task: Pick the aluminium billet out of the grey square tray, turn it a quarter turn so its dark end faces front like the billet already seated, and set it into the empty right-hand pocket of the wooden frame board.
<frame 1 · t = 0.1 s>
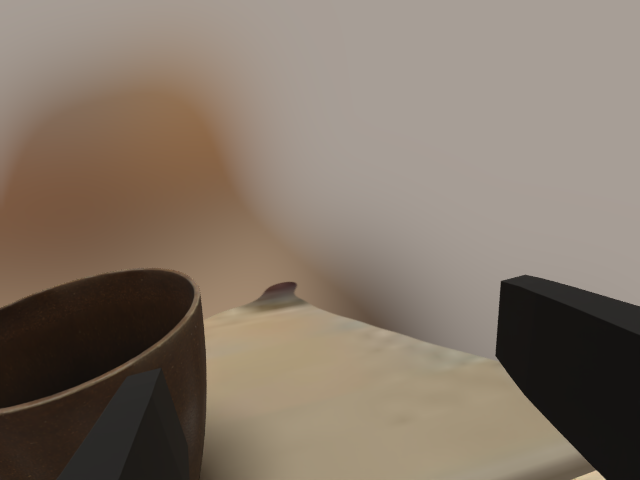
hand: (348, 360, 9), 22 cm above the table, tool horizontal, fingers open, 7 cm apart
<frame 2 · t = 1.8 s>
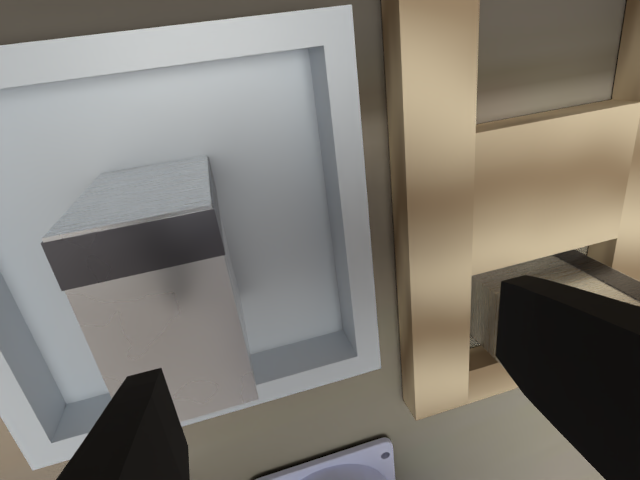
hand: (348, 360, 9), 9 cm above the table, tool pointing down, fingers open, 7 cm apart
loose billet: (177, 241, 16), point 1 cm above the table, touching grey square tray
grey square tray: (177, 236, 16), on the table
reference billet: (520, 291, 22), resting in wooden frame board
wooden frame board: (530, 183, 20), on the table
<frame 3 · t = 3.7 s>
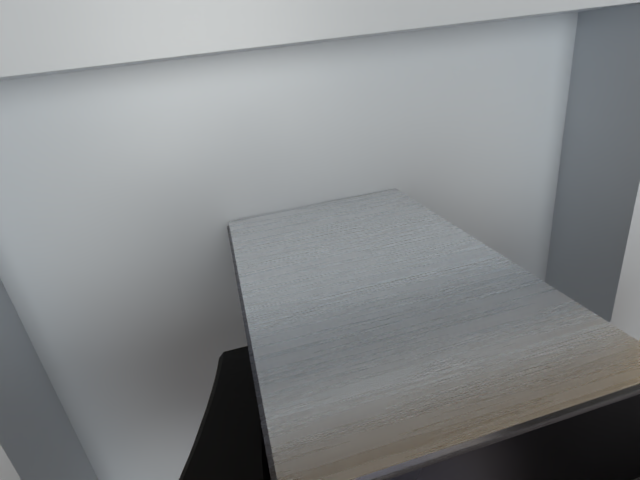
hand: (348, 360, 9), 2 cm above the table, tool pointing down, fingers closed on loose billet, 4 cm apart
loose billet: (330, 323, 10), point 1 cm above the table, touching gripper, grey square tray
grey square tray: (324, 312, 10), on the table
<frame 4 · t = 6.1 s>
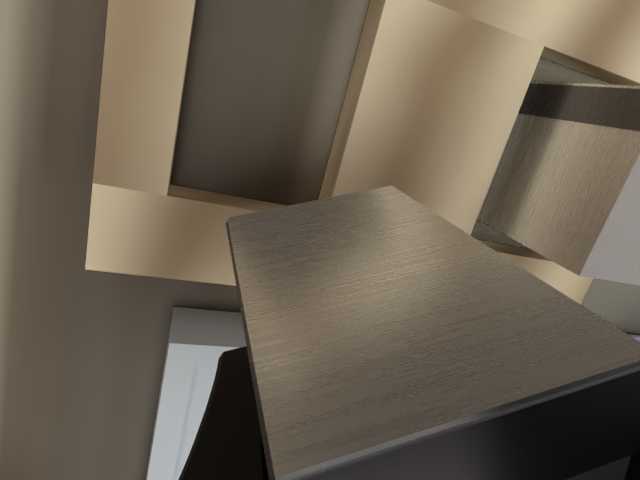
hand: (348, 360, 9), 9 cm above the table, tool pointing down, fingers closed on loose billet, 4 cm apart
loose billet: (327, 318, 10), point 7 cm above the table, touching gripper
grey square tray: (297, 438, 21), on the table
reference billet: (529, 160, 19), resting in wooden frame board
wooden frame board: (414, 130, 17), on the table
when the fingers open (2 cm above the table, at t = 8.5 s): loose billet stays where it is, resting in wooden frame board.
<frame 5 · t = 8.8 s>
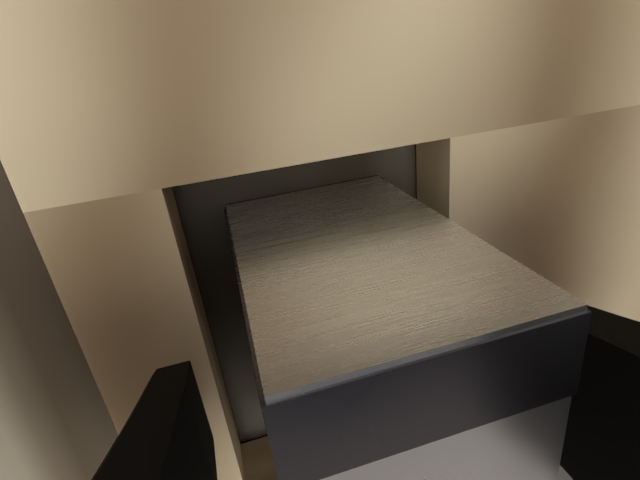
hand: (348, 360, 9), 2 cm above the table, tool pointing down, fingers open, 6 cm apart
loose billet: (319, 300, 11), resting in wooden frame board
wooden frame board: (520, 253, 12), on the table
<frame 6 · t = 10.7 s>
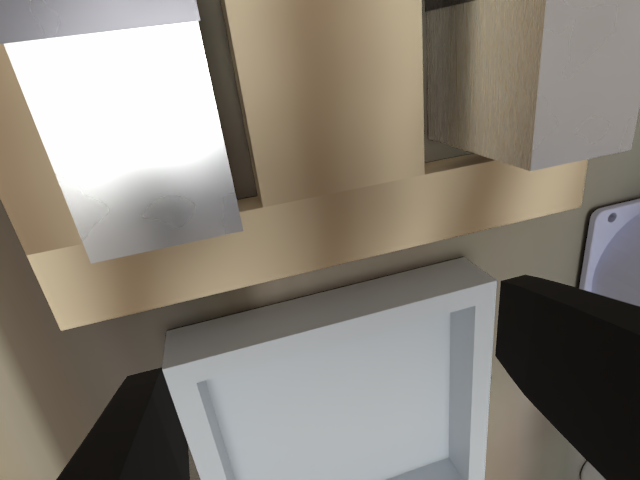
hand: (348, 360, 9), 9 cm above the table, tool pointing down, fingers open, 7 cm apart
loose billet: (155, 99, 14), resting in wooden frame board
photo printer: (633, 446, 32), on the table
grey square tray: (341, 406, 22), on the table
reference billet: (468, 55, 17), resting in wooden frame board
wooden frame board: (323, 76, 15), on the table
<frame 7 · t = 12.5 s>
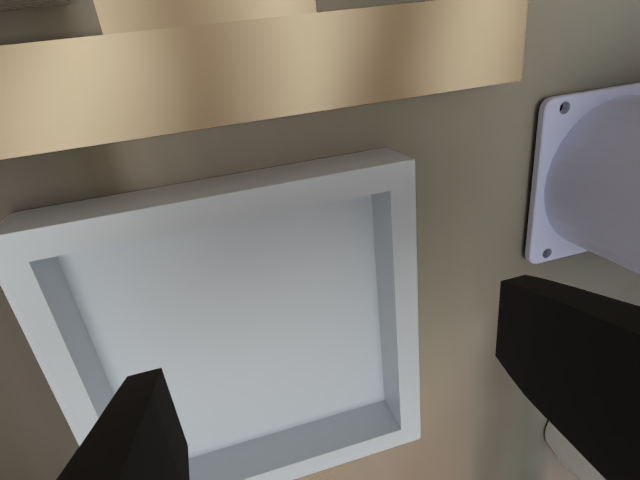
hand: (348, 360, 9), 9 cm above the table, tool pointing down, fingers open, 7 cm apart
photo printer: (604, 404, 28), on the table
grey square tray: (248, 328, 19), on the table
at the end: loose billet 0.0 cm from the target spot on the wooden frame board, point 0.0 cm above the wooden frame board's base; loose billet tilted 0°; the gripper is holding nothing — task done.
